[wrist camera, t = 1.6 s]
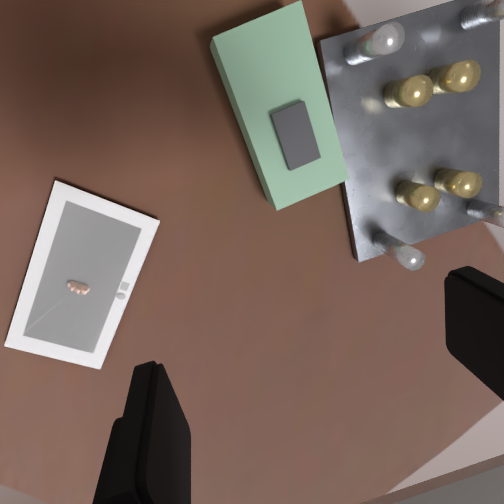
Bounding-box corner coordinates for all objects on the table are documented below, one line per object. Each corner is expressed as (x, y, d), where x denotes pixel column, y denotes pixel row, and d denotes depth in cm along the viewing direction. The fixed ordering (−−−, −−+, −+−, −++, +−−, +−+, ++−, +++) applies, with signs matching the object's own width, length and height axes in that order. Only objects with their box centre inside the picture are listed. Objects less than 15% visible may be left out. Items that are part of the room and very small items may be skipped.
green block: (209, 48, 25) (213, 34, 21) (286, 16, 25) (304, -4, 21) (266, 200, 29) (278, 212, 25) (331, 172, 29) (352, 180, 26)
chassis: (315, 43, 25) (350, 21, 20) (488, -9, 26) (569, -44, 21) (354, 258, 32) (388, 286, 27) (490, 211, 33) (551, 230, 27)
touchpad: (10, 338, 30) (-3, 354, 28) (60, 178, 26) (49, 182, 24) (102, 361, 32) (97, 377, 30) (161, 217, 28) (158, 224, 26)
